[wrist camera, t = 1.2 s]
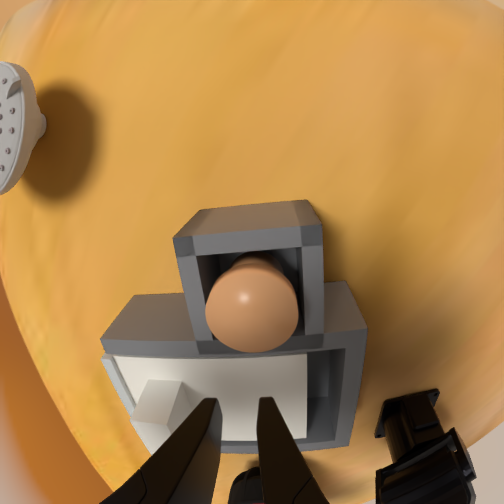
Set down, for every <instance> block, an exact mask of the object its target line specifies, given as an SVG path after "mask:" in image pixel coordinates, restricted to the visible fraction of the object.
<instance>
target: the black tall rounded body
mask: <svg viewBox="0 0 504 504" xmlns="http://www.w3.org/2000/svg"><path fill="white" fill-rule="evenodd" d="M228 504H264V498H263V489H262V481H261V472H260V463H259V467H254V468H251V469H249V470H248V471H245V472H242V473H241V474H239V475H238V476H237V477H236V478H235V480H234V481H233V484H232V486H231V489H230V494H229V500H228Z"/></svg>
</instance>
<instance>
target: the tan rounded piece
mask: <svg viewBox="0 0 504 504" xmlns="http://www.w3.org/2000/svg"><path fill="white" fill-rule="evenodd" d="M205 315H206V321H207V324H208V326H209V328H210V330H211V332H212V333H213V334H214V336H215V337H216V338H217V339H218V340H219V341H221V342H222V343H223V344H225V345H227V346H228V347H230V348H233V349H235V350H238V351H242V352H249V353H258V352H265V351H269V350H272V349H274V348H276V347H278V346H280V345H282V344H283V343H284V342H286V341H287V340H288V339H289V338H290V336H291V335H292V334H293V332H294V330H295V328H296V326H297V322H298V306H297V299H296V294H295V290H294V288H293V286H292V284H291V283H290V281H289V280H288V279H287V278H286V277H285V276H284V272H283V268H282V266H281V264H280V263H279V261H278V260H277V259H276V258H275V257H273V256H272V255H270V254H268V253H265V252H262V251H249V252H245V253H243V254H241V255H239V256H238V257H237V258H236V259H235V260H234V261H233V262H232V263H231V265H230V268H229V270H227V271H225V272H224V273H223V274H221V276H220V277H219V278H218V279H217V280H216V282H215V283H214V285H213V287H212V290H211V292H210V295H209V297H208V300H207V303H206V308H205Z"/></svg>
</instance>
